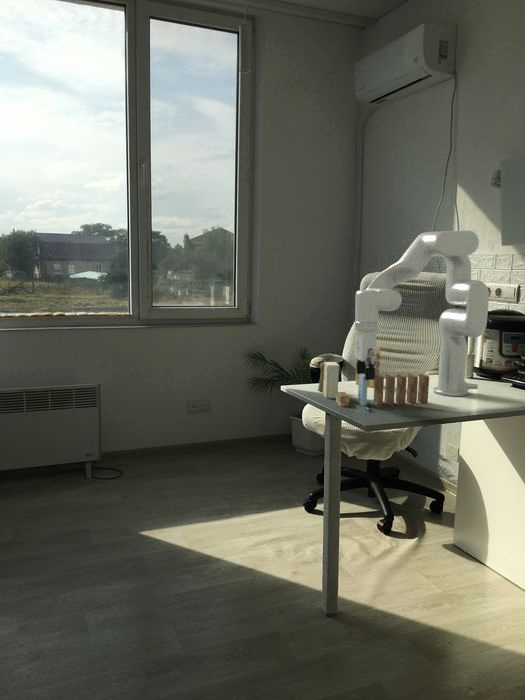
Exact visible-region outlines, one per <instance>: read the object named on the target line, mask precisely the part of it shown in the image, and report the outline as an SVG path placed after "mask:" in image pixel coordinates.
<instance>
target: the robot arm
mask: <svg viewBox="0 0 525 700" xmlns="http://www.w3.org/2000/svg"><path fill="white" fill-rule="evenodd" d="M479 241H480V239H479V236H478V235H477V233H475V231H473V230H447V231H444V230H443V231H442V230H441V231H426V232H422V233H420V234H418V236H417V237H416V238H415V239H414V240H413V241H412V243H411V244H410V245H409V247H408V248H407V250H406V251H405V252H404V253H403V254H402V256H401V257H400V258H399V260H398V261H397V262H395V263H393V264H392V265H390V266H389V267H388V268H386V269H385V270H383V271H381V272H380V273H379V274H378V275H376V276H375V278H373V280H372V281H371V283H370V284H368V286H367V288H366V289H359V290H357V291H356V292H355V296H354V297H355V300H354V302H355V303H354V304H355V305H354V306H355V310H354V312H355V313H354V316H355V317H354V319H355V320H354V331H355V339H354V353H353V354H354V358H355V359H356V364H357V374H365V379H366V380H374V379H375V359H376V348H377V340H376V339H377V336H376V333H378V327H379V325H378V324H379V320H378V319H379V312H380V311H383V312H384V311H385V312H392V311H395V310H398V309H399V307H400V306H401V304H402V303H403V300H402V299H403V298H402V295H401V294H400V292H399V291H398V290H396V289H393V288H394V287H395V286H398V285H400V284H402V283H407V282H408V281H412V280H413V279H416V278H417V277H419V275H420V274H421V272H422V271H423V270H424V269H425V268H426V266H427V265H428V263H430V261H431V259H433V258H434V257H438V258H439V257H441V258H442V259H444V262H445V265H446V280H445V299H446V302H447V303H448V304H450V305H454V306H462V307H466V309H463V308H449V309H446V310H445V311H443V312H442V313H441V315H440V316H439V320H438V324H439V325H438V326H439V333H440V347H439V348H440V350H439V363H438V377H437V386H434V387H433V389H432V391H433V392H434V393H435V394H438V395H441V396H449V397H463V396H467V395H469V390H478V388H479V387H478V386H479V385H478V384H477V383H471V382H467V381H466V379H465V378H466V371H467V370H466V368H467V357H468V356H467V354H468V344H467V340H466V337H468V338H478V337H481V336H482V335H483V334H484V333H485V331H486V328H487V323H488V314H489V301H490V294H489V289H488V286H487V285H486V283H485V282H483V281H482V280H478V279H477V280H476V279H472V263H471V260H470V257H469V256H470V255H472V254H474V253H475V252H476V251H477V250H478V248H479V245H480V244H479V243H480V242H479ZM368 362H369V364H368Z"/></svg>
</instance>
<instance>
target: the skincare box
mask: <svg viewBox="0 0 525 700" xmlns="http://www.w3.org/2000/svg"><path fill="white" fill-rule="evenodd" d="M324 362H325V364H324V383H323V392H322V395H323V396H324V398H325V399H336V392H339V376H340V375H339V373H340V364H339V363H338V362H337V361H324Z"/></svg>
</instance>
